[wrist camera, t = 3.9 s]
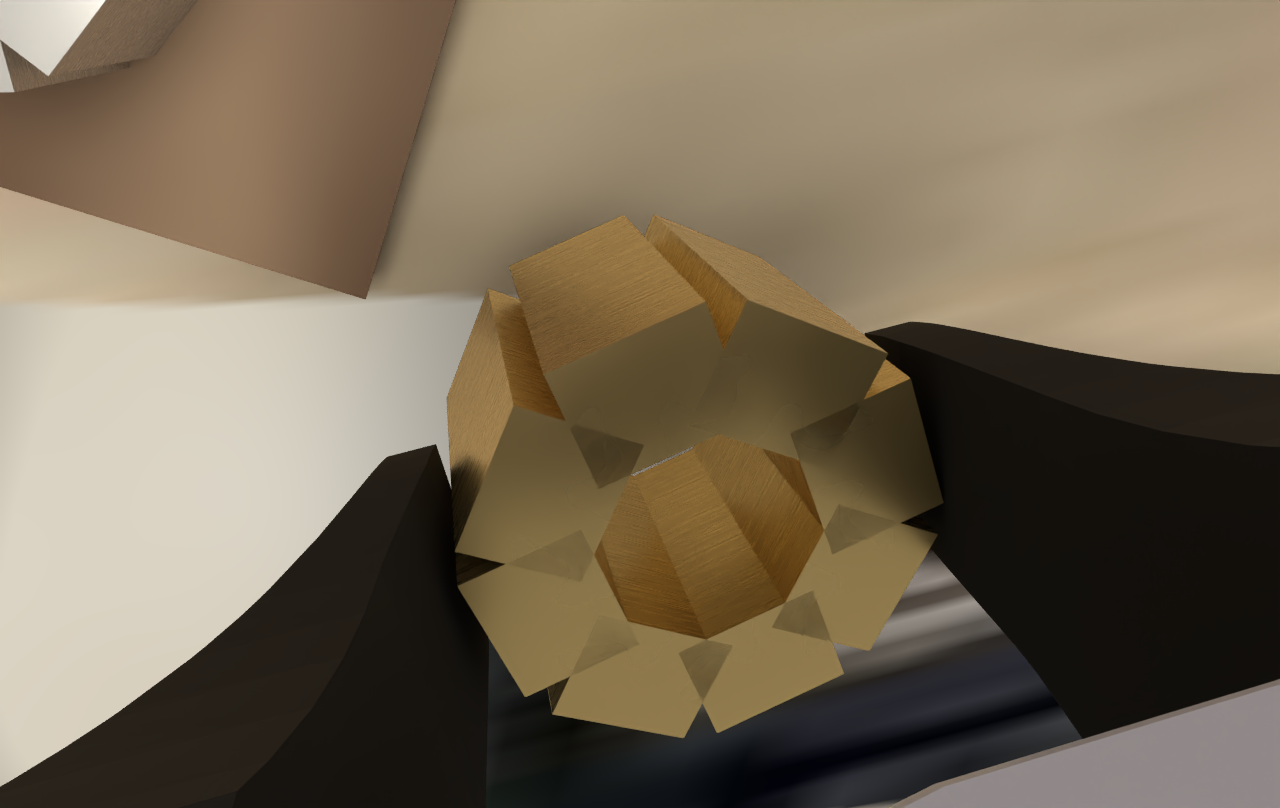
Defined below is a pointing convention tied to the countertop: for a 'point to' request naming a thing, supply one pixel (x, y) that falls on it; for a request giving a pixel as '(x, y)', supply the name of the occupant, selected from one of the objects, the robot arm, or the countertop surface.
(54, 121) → the gear board
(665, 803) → the countertop surface
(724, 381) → the brass gear
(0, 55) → the steel gear
